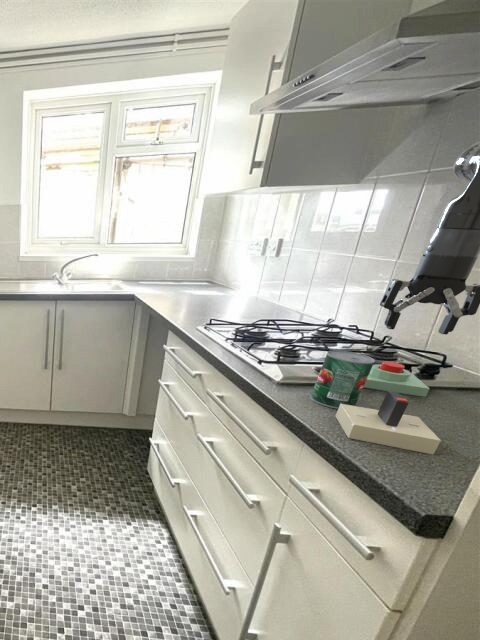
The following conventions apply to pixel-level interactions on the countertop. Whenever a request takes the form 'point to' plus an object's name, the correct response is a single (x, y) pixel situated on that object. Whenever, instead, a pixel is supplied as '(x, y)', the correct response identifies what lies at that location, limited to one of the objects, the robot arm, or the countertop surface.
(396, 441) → the panel
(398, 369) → the button
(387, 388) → the button block
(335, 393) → the canned tomato
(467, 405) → the countertop surface
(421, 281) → the robot arm
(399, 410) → the oven knob
